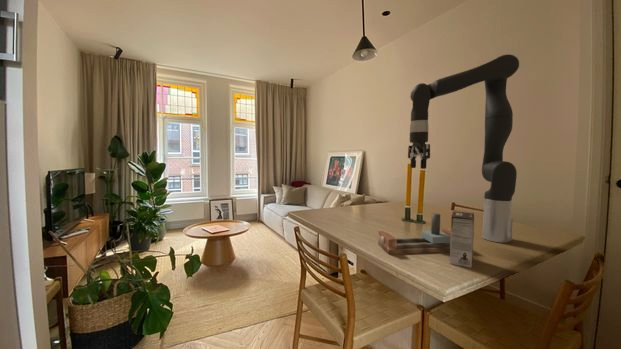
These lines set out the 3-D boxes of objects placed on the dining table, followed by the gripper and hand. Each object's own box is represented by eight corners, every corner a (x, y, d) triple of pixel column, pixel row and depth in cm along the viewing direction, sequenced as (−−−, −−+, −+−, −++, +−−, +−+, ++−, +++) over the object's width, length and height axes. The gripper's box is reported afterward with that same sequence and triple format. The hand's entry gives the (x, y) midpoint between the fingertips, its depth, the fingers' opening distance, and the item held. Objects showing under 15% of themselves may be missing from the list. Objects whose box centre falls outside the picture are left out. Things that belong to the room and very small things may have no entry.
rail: (449, 241, 102) (449, 228, 101) (466, 251, 92) (467, 236, 91) (377, 244, 99) (377, 231, 98) (387, 254, 89) (387, 239, 88)
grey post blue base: (437, 236, 100) (438, 211, 99) (450, 242, 92) (451, 216, 91) (421, 236, 99) (421, 212, 99) (432, 243, 91) (433, 217, 91)
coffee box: (450, 254, 89) (452, 210, 88) (471, 258, 85) (474, 212, 84) (449, 264, 81) (451, 215, 80) (472, 268, 78) (475, 218, 76)
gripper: (436, 129, 102) (435, 169, 103) (418, 133, 116) (417, 167, 117) (419, 129, 101) (418, 169, 102) (403, 133, 115) (402, 167, 116)
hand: (418, 168), depth 110 cm, fingers open, 8 cm apart
